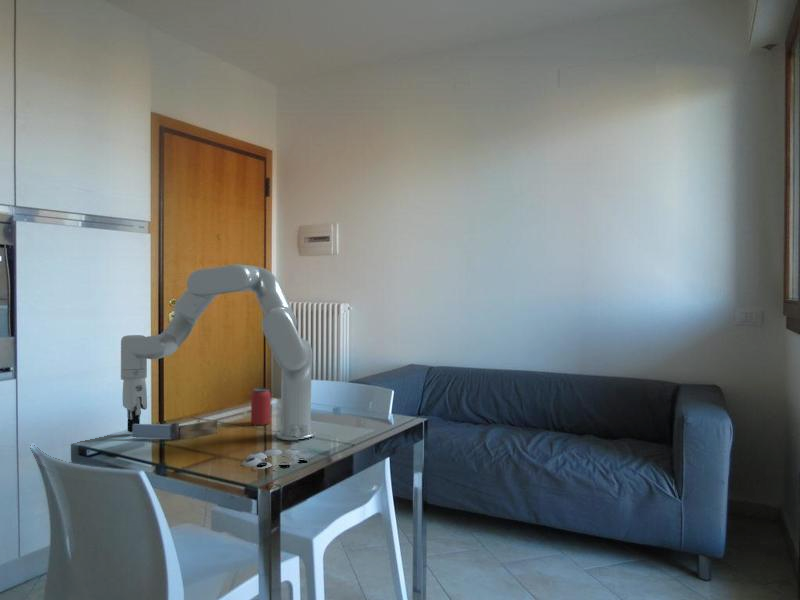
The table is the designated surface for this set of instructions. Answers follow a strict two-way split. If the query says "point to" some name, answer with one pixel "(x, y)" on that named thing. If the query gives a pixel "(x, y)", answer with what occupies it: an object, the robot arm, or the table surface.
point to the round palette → (257, 457)
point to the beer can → (260, 406)
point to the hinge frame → (193, 430)
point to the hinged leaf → (151, 431)
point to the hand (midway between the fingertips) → (133, 431)
